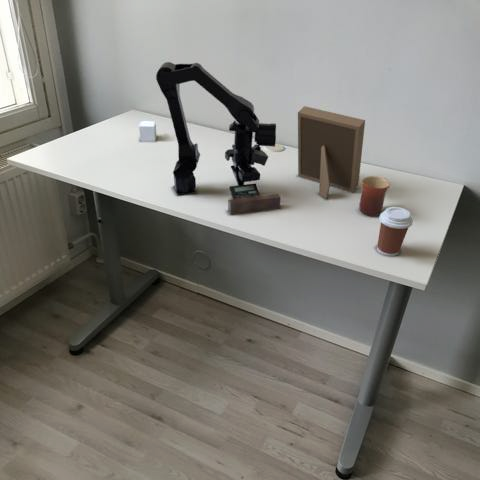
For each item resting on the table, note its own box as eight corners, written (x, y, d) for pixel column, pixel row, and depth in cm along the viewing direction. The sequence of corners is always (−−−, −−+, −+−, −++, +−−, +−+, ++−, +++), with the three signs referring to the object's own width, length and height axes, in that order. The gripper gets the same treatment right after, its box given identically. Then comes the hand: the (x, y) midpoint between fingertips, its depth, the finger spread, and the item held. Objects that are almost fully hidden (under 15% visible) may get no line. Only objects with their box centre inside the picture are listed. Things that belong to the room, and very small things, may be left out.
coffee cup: (405, 260, 138) (416, 222, 131) (372, 256, 140) (381, 218, 132) (402, 243, 145) (413, 206, 138) (371, 239, 146) (380, 203, 139)
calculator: (240, 209, 159) (240, 201, 157) (229, 194, 167) (229, 185, 165) (266, 206, 161) (267, 197, 159) (255, 190, 169) (255, 182, 167)
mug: (375, 221, 155) (382, 190, 149) (351, 212, 159) (356, 182, 153) (392, 208, 163) (399, 178, 156) (368, 199, 167) (374, 170, 160)
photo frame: (303, 172, 182) (312, 102, 166) (357, 188, 173) (372, 115, 157) (283, 186, 173) (290, 113, 157) (339, 203, 164) (353, 128, 148)
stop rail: (230, 214, 156) (230, 203, 153) (228, 211, 157) (228, 199, 155) (279, 208, 160) (280, 196, 157) (277, 204, 162) (278, 193, 159)
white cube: (156, 136, 206) (155, 121, 202) (155, 141, 202) (154, 126, 198) (142, 135, 206) (140, 121, 202) (140, 141, 201) (139, 126, 197)
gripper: (277, 153, 153) (272, 198, 163) (256, 130, 165) (253, 173, 176) (243, 157, 150) (241, 202, 160) (225, 133, 162) (223, 176, 173)
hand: (240, 188), depth 168 cm, fingers closed
